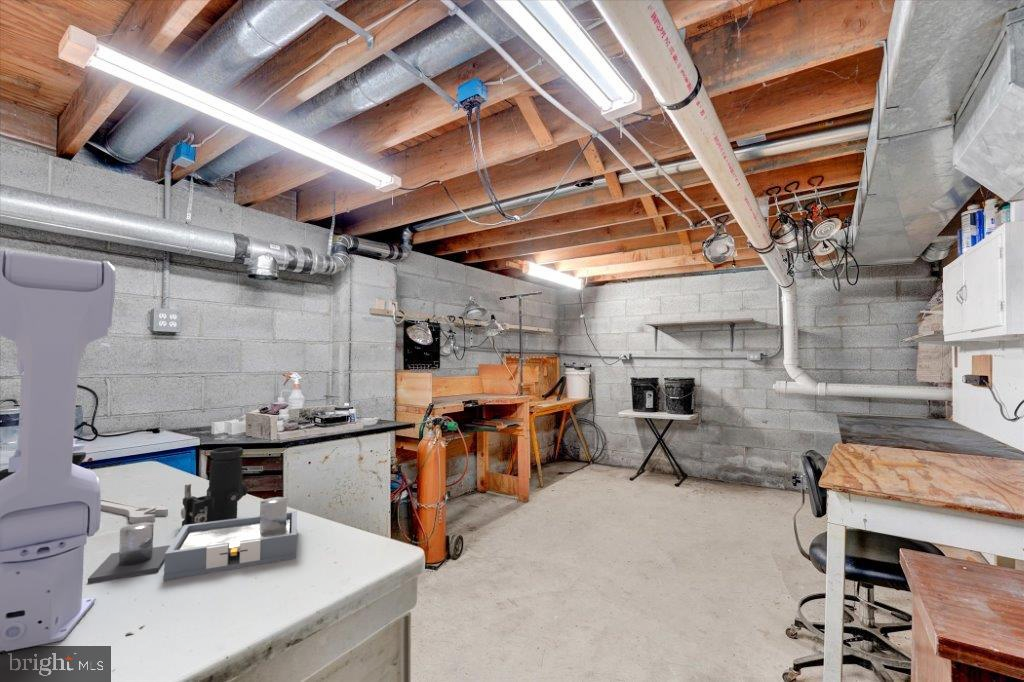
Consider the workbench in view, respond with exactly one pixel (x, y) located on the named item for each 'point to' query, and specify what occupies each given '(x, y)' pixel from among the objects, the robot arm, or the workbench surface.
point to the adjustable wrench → (134, 511)
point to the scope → (217, 489)
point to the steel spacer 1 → (136, 543)
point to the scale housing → (227, 549)
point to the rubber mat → (114, 570)
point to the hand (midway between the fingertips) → (43, 510)
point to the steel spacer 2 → (273, 515)
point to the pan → (227, 536)
